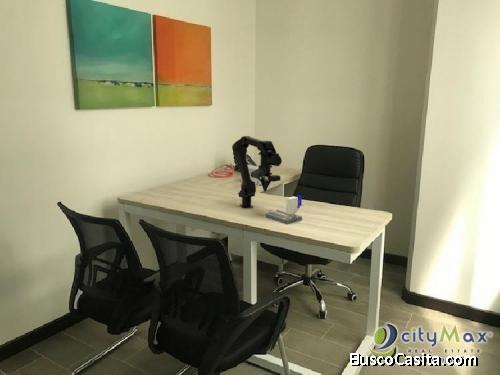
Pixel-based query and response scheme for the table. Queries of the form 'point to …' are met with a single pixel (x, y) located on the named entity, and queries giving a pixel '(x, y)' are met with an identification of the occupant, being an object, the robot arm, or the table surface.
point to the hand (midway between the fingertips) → (264, 191)
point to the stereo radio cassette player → (251, 169)
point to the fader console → (283, 217)
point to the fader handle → (291, 206)
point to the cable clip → (299, 201)
